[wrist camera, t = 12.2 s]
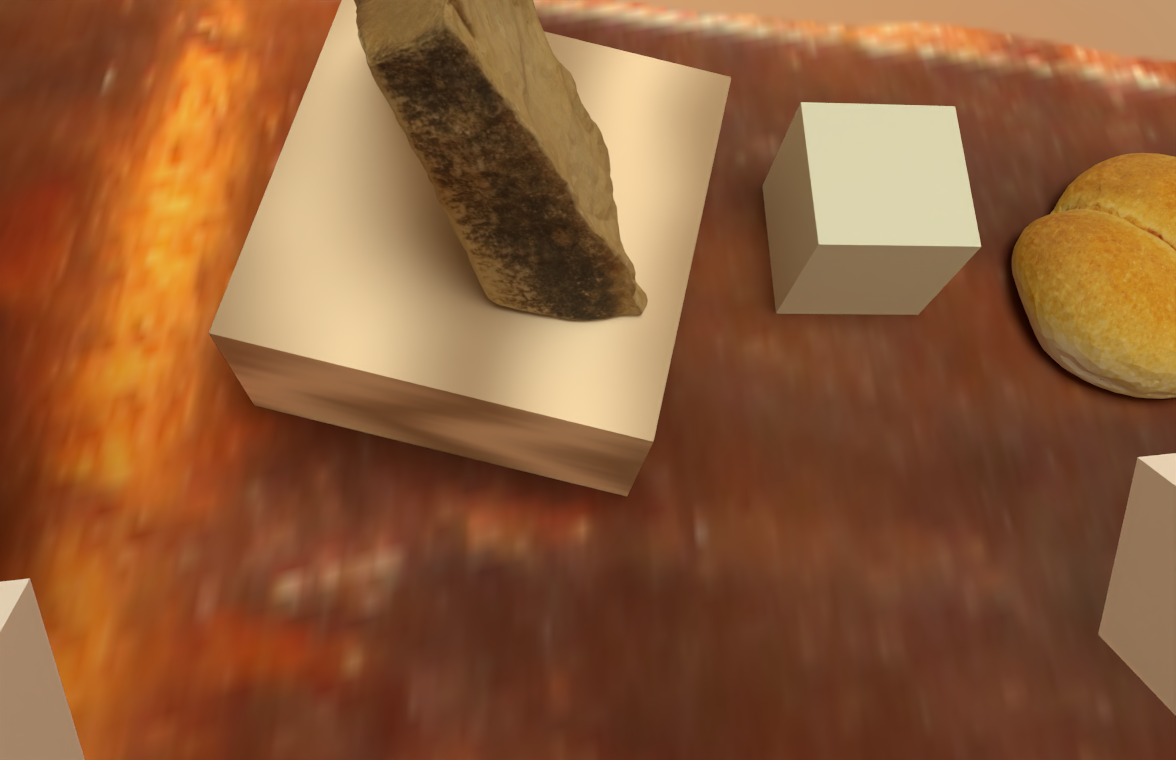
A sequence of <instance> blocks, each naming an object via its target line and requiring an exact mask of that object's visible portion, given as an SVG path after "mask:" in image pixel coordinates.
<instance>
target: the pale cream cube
mask: <svg viewBox="0 0 1176 760" xmlns="http://www.w3.org/2000/svg"><path fill="white" fill-rule="evenodd" d="M762 187H763V196H764V206H765V215H766V225H767V234H768V244H769V253H770V263H771V272H772V281H773V291H774V300H775V310H776V314H889V315H918V314H919V313H920V312H921V311H922V310H923V309H924V308H925V307H926V306H927V305H928V304H929V303H930V301H931V300H932V299H933V298H934V297H935V296H936V295H937V294H938V293H939V292H940V291H941V290H942V288H943V287H944V286H945V285H946V284H947V283H948V282H949V281H950V280H951V279H952V278H953V277H954V276H955V274H956V273H957V272H958V271H959V270H960V269H961V268H962V267H963V266H964V265H965V264H966V263H967V261H968V260H969V259H970V258H971V257H972V256H973V255H974V254H975V253H976V252H977V251H978V250H979V248H980V247H981V243H980V238H979V232H978V227H977V222H976V216H975V211H974V206H973V200H972V195H971V190H970V184H969V179H968V174H967V168H966V163H965V158H964V152H963V147H962V142H961V136H960V131H959V126H958V120H957V115H956V110H955V106H920V105H883V104H846V103H809V102H801V103H800V105H799V107H798V110H797V112H796V114H795V116H794V118H793V120H792V123H791V125H790V127H789V129H788V131H787V133H786V136H785V138H784V140H783V142H782V144H781V146H780V149H779V151H778V153H777V155H776V157H775V159H774V162H773V164H772V166H771V168H770V170H769V172H768V175H767V177H766V179H765V181H764V183H763V186H762Z"/></svg>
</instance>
